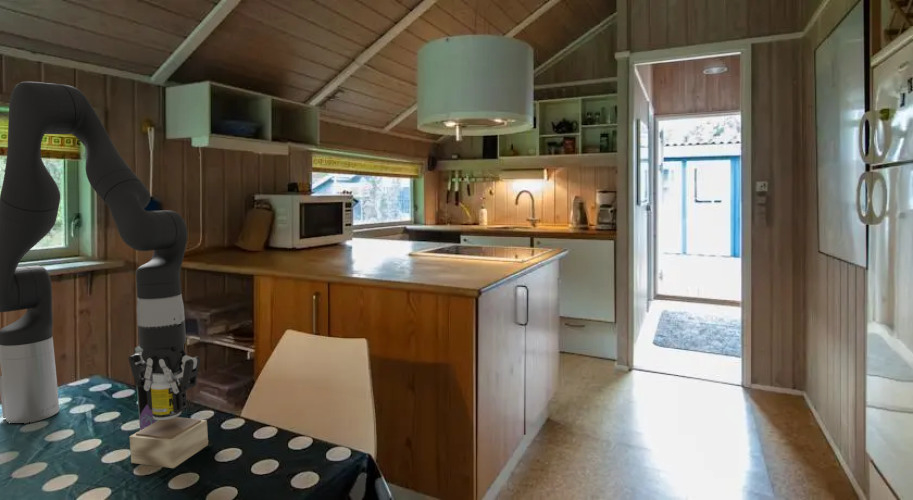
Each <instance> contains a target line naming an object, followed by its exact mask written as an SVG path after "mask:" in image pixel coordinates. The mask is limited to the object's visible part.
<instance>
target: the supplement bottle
mask: <svg viewBox="0 0 913 500" xmlns="http://www.w3.org/2000/svg"><path fill="white" fill-rule="evenodd" d="M173 375H174V376H175V375H177V372H176V373H174V374H173ZM153 382H154V383H153V384H152V385H151V396H152V413H153V418H154V419H155V420H168V419H172V418H175V417H180V415H181V414H182V411H181V412H179V413H176V412H174V409H173V395H172V394H173V393H174V392H173V390H172V387H171V384H170V383H169V382H167V380H166V377H165V374H160V373H153ZM177 382H178V384H179V385H180V383H179V381H178V379H177Z"/></svg>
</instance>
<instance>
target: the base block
mask: <svg viewBox="0 0 913 500" xmlns="http://www.w3.org/2000/svg"><path fill="white" fill-rule="evenodd" d="M208 435H209V434H208V420H207V419H199V418H191V417H189V418H188V417H180V416H177V417H175V418H172V419H168V420H159V421H157V422H155V423H153V424H152V425H150V426H148V427H146V428H144V429H142V430H140V429H139V431H136V432H135V433H133V434H131V435H130V436H128V437H129V450H130V462H131V464H138V465H139V464H140V465H146V466H155V467H162V468H169V469H175V468H176V467H178V466H179V465H181V464H182V463H184V462H185V461H186V460H188V459H189V458H191V457H192V456H194V455H195V454H197V453H198V452H200V451H201V450H203V449H204V448H206V447H208V446H209V437H208Z"/></svg>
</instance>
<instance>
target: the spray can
mask: <svg viewBox="0 0 913 500" xmlns="http://www.w3.org/2000/svg"><path fill="white" fill-rule="evenodd" d="M142 351H143V349H142V348H140V346H139V345H138V346H136V347H134V352H133V355H135V354H137V353H140V352H142ZM140 374H141V378H143V375H142V372H141V373H140ZM136 393H137V394H136V397H137V409H138V411H137V412H138V419H139V420H138V421H139V431H140V430H142V429H144V428H146V427H148V426H150V425H152V424H153V423H155V422H157V421H159V420H155V419H154V418H153V413H152V410H150V409H149V406H148V404H147V392H146V390H145V389H144V387H142V386H140V387H137V386H136Z"/></svg>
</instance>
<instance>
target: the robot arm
mask: <svg viewBox="0 0 913 500" xmlns="http://www.w3.org/2000/svg"><path fill="white" fill-rule="evenodd" d="M7 121H8V124H7V125H8V126H7V153H6V161H5V167H4V174H3V175H4V176H3V180H2V186H1V191H0V313H7V312H8V313H9V312H13V311H14V312H16V311H22V310H26V312H25V313H24V314H23V315H22V316H21V317H19V318H18V319H17V320H16V321H14V322H12V323H10V324H8V325H6V326H4V327H2V328H1V329H0V372H1V376H0V400H1V411H2V419H3V418H6V419H5V420H6V421H7V422H10V423H24V424H30V423H35V422H39V421H43V420H45V419H48V418H50V417H53V416H54V415H56V414H57V413H59V412H60V404H59V389H58V380H57V369H56V368H57V367H56V357H55V347H54V339H53V336H54V335H53V324H54V319H53V318H54V315H53V288H52V286H53V285H52V279H51V277H50V273H49V271H48V270H47V269H46V268H45V267H44V266H42V265H26V266H24V265H23V266H18V265H20V264H19V263H20V261H21V260H22V259H23V257H24V256H25V255H26V254H28V252H29V251H30V250H32V249H33V248H34V247H35V246H36V245H37V244H38V243H40V241H42V240H43V239H44V238H45V237H46V235H48V234H49V233H50V232H51V230H52V229H53V228H54V226H55V223H56V221H57V218H58V212H59V208H60V203H61V192H60V189H59V186H58V184H57V183H56V181H55V179H54V178H53V176H52V174H51V173H50V171H49V170H48V169H47V167H46V166H45V164H44V162H43V161H44V160H42V143H43V138H44V136H45V135H72V136H74V137H75V138H76V139H77V140H78V141H80V143H81V144H82V145H83V146H84V148H85V155H86V156H85V173H86V174H85V175H86V178H87V181H88V183H89V184H90V186H91V187H92V189H93V190H94V192H96V194H97V195H98V196H99V197H100V199H101V200H102V201H103V202H104V204H105V205H106V206H107V207H108V208H109V211H110V213H111V216H112V219H113V221H114V223H115V226H116V228H117V232H118V234H119V236H120V238H121V239H122V241H123V242H124V243H125V245H126V246H128V247H129V248H132V249H133V250H135V251H137V252H149V251H153V254H152V257H151V260H149V261H148V262H146V263H144V264H142V265H140V266H139V267H137V268H136V271H135V283H136V285H135V286H136V297H137V298H136V299H137V301H136V318H137V332H138V333H137V334H138V335H137V336H138V346H140V348H142V349H143V351H142V352H140V353H137V354H135V355H134V354H132V355H129V356H128V358H127V359H128V362H129V366H130V369H131V372H132V376H133V379H134V383H135V386H136V388H137V387H140V386H142V387H144V389H145V390H146V392H147V404H148V406H149V409H150V410H152V396H151V385H152V384H153V383H154V382H153V373H160V374H165V377H166V380H167V382H169V383H170V384H171V387H172V390H173V392H174V393H173V394H172V395H173V409H174V412H176V413H179V412H181V413H182V412H183V411H185V409H186V408H187V405H188V402H187V400H188V399H187V391H188V390H189V389H192V388H194V387H195V386H197V380H198V374H199V369H200V364H201V358H200V357H199V356H197V355H196V356H194V357H192V356H190V355H187V352H186V351H185V348H184V347H185V346H184V345H185V343H186V342H187V341H186V340H187V336H186V321H185V320H186V319H185V318H186V317H185V306H184V300H183V295H182V284H181V269H182V265H183V262H184V257H185V253H186V247H187V242H188V228H187V223H186V221H185V220H184V218H183V217H182V216H181V215H180V213H178V212H176V211H174V210H170V209H168V210H167V209H165V210H146V209H145V208H146V207H147V206H148V205H149V203H150V202H151V193H150V191H149V189H148V188H147V187H146V186H145V183H143V182H142V180H141V179H140V177H138V176H137V174H136V173H135V172H134V171H133V170H132V169H131V167H130V166H129V165H128V164H127V162H126V161H125V160H124V158H123V157H122V155H121V154H120V152H119V150H117V147H116V146H115V145H114V142H113V141H112V139H111V138H110V135H109V133H108V131H107V130H106V128H105V127H104V124H103V123H102V122H101V119H100V118H99V116H98V114H97V113H96V110H95V109H94V107H93V105H92V104H91V103H90V101H89V100H88V98H87V96H85V94H84V93H83V92H82V91H81V90H80V89H79V88H77V87H75V86H71V85H67V84H61V83H48V82H40V81H22V82H19V83H17V84H16V85H15V86H14V88H13V90H12V92H11V94H10V97H9V107H8V120H7ZM141 372H142V375H143V378H141V374H140V373H141ZM176 372H177V375H175V376H174V375H173V374H174V373H176ZM177 379H178V381H179V383H180V385H179V384H178V382H177ZM6 421H5V422H6ZM7 422H6V423H7ZM29 422H30V423H29ZM10 423H9V424H10Z"/></svg>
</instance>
